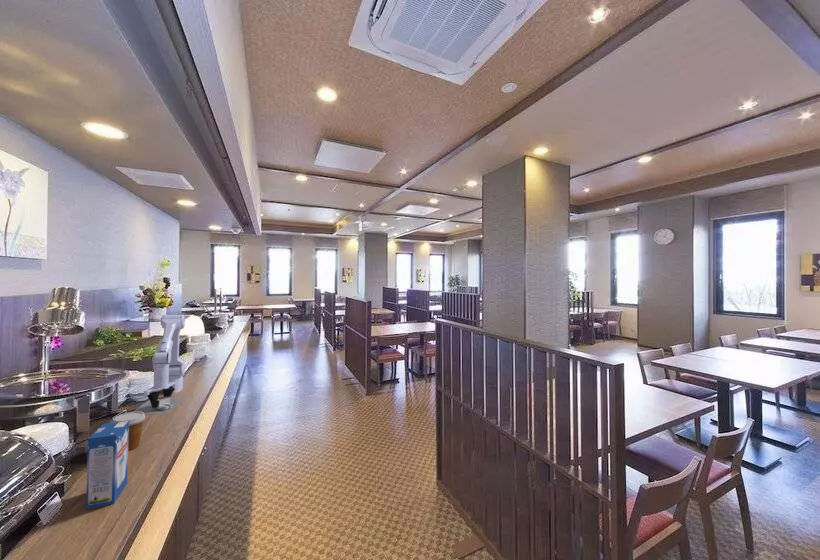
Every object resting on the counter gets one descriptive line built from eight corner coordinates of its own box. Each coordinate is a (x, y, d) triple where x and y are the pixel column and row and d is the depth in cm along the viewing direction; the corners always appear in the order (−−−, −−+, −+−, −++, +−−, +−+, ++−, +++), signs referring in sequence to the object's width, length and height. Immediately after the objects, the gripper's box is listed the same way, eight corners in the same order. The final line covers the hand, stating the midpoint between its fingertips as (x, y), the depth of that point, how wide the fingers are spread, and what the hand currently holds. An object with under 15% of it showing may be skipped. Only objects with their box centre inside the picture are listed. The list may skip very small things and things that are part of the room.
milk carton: (101, 488, 102) (103, 423, 101) (127, 483, 104) (129, 420, 104) (85, 509, 92) (87, 438, 92) (114, 504, 95) (116, 434, 95)
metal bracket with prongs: (150, 407, 156) (151, 399, 156) (161, 403, 161) (161, 395, 161) (164, 410, 154) (164, 401, 154) (174, 405, 159) (174, 397, 159)
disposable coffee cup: (129, 454, 120) (130, 422, 120) (104, 453, 120) (105, 420, 120) (150, 441, 129) (151, 411, 129) (127, 440, 130) (128, 410, 130)
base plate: (149, 401, 168) (150, 391, 168) (185, 399, 173) (185, 390, 173) (127, 417, 149) (128, 406, 149) (168, 415, 153) (169, 404, 153)
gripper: (152, 382, 150) (151, 412, 150) (181, 373, 164) (181, 401, 164) (140, 380, 152) (139, 410, 152) (170, 372, 166) (169, 399, 166)
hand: (160, 405), depth 158 cm, fingers closed on metal bracket with prongs, 5 cm apart
